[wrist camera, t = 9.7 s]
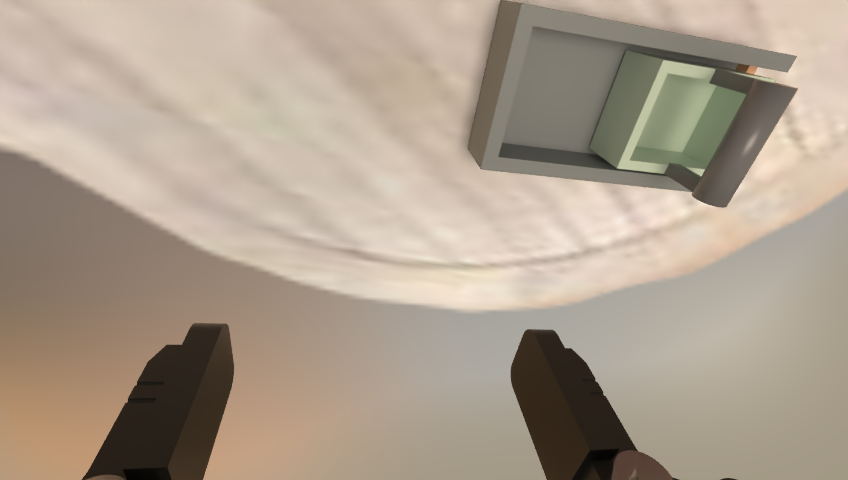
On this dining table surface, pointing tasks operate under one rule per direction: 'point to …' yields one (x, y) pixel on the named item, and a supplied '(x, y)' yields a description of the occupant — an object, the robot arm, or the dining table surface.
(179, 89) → the dining table surface
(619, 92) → the box
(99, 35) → the dining table surface
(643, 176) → the bay
